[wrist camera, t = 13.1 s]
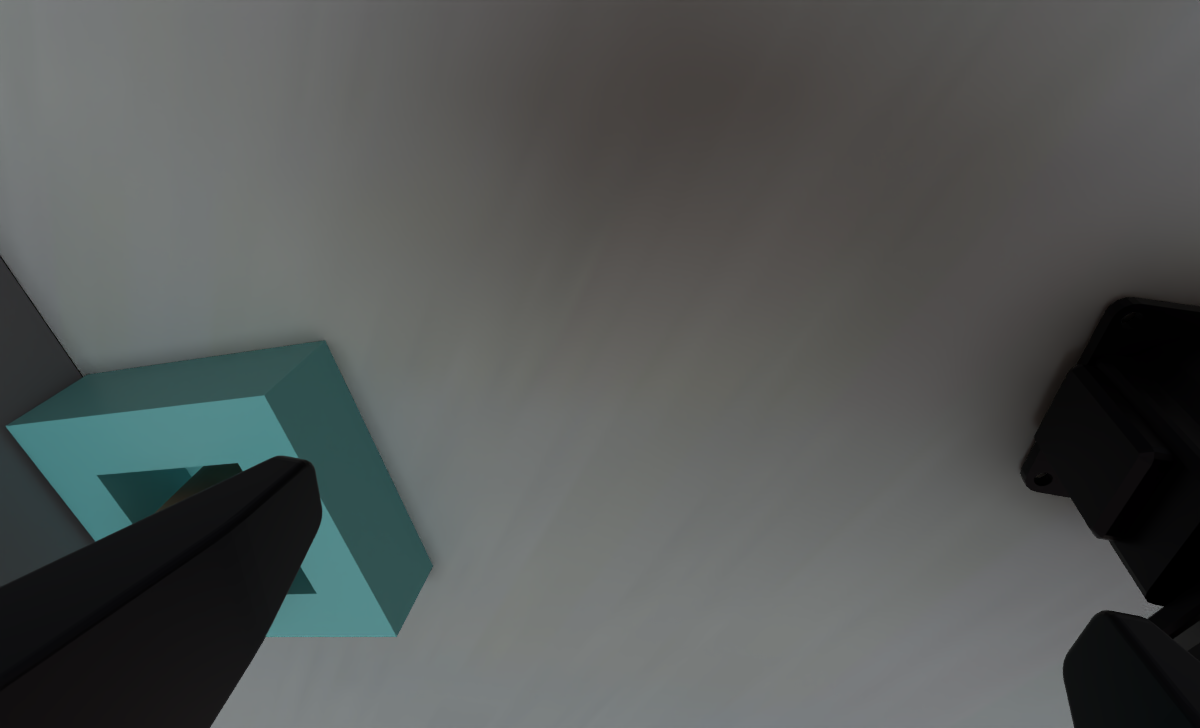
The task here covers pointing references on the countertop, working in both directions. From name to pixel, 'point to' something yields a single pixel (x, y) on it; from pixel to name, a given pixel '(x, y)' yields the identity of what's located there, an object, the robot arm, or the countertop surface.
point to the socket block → (248, 437)
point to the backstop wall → (3, 469)
